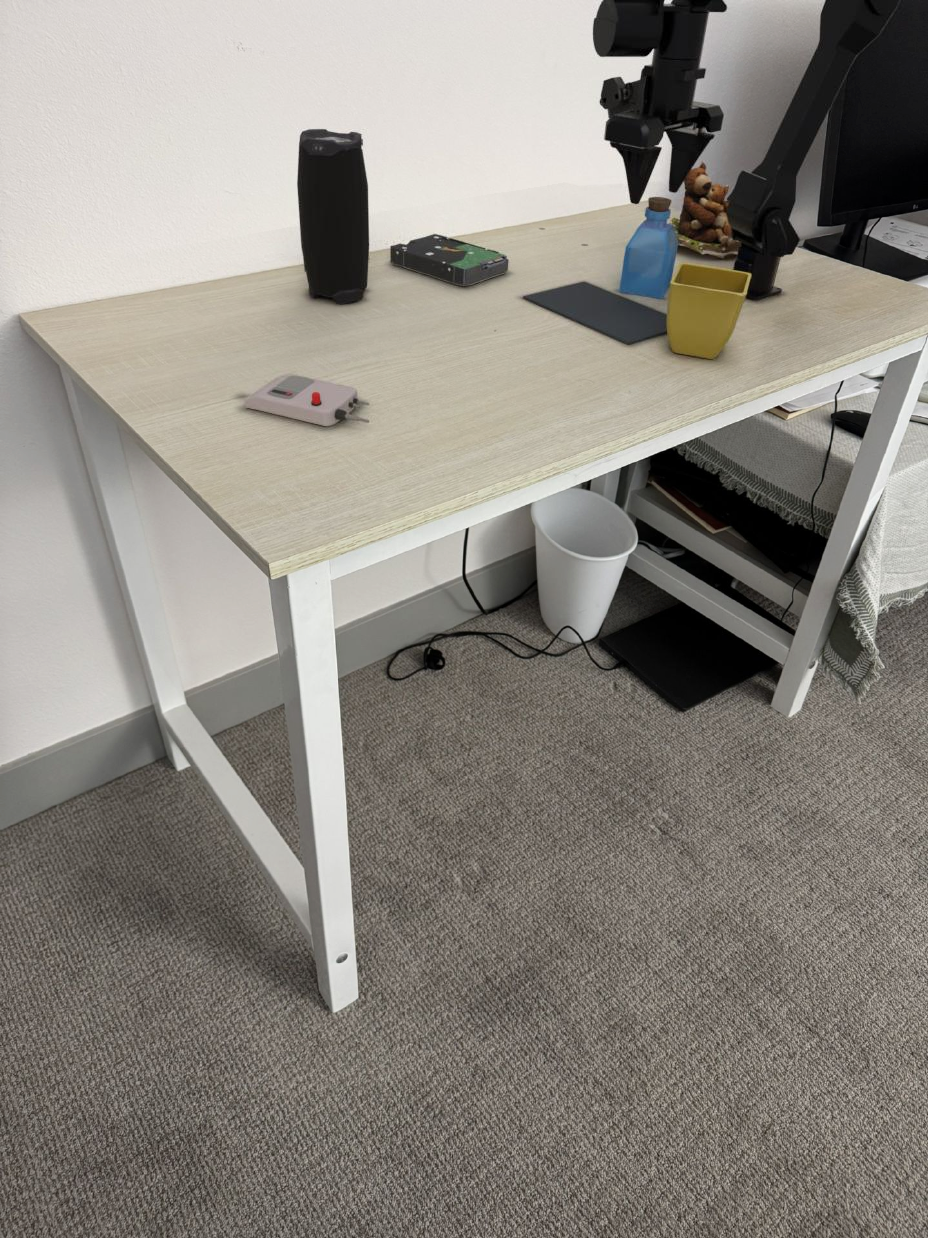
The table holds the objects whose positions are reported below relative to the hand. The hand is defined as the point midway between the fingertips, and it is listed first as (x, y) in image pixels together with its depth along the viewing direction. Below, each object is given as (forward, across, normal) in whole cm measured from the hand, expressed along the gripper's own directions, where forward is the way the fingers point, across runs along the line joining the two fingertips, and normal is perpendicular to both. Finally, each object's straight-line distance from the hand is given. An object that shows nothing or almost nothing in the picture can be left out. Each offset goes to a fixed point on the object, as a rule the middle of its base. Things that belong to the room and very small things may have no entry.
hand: (654, 197), depth 115 cm
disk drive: (+14, +10, -27) cm, 32 cm away
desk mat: (+13, +7, 0) cm, 15 cm away
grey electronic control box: (+13, +55, -5) cm, 57 cm away
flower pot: (+14, +10, +15) cm, 23 cm away
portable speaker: (+14, +30, -29) cm, 44 cm away
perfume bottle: (+14, -5, -2) cm, 15 cm away
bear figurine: (+14, -30, -7) cm, 34 cm away
